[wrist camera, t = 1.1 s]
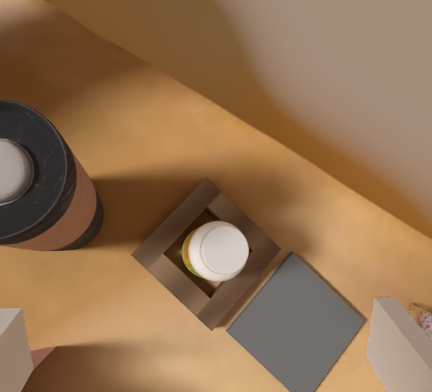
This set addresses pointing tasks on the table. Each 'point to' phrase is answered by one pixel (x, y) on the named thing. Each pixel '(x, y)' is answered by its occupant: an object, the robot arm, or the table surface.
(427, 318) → the pink patterned figure
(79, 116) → the table surface
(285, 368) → the slate pad
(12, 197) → the travel mug
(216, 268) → the supplement bottle
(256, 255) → the brown flat square frame
